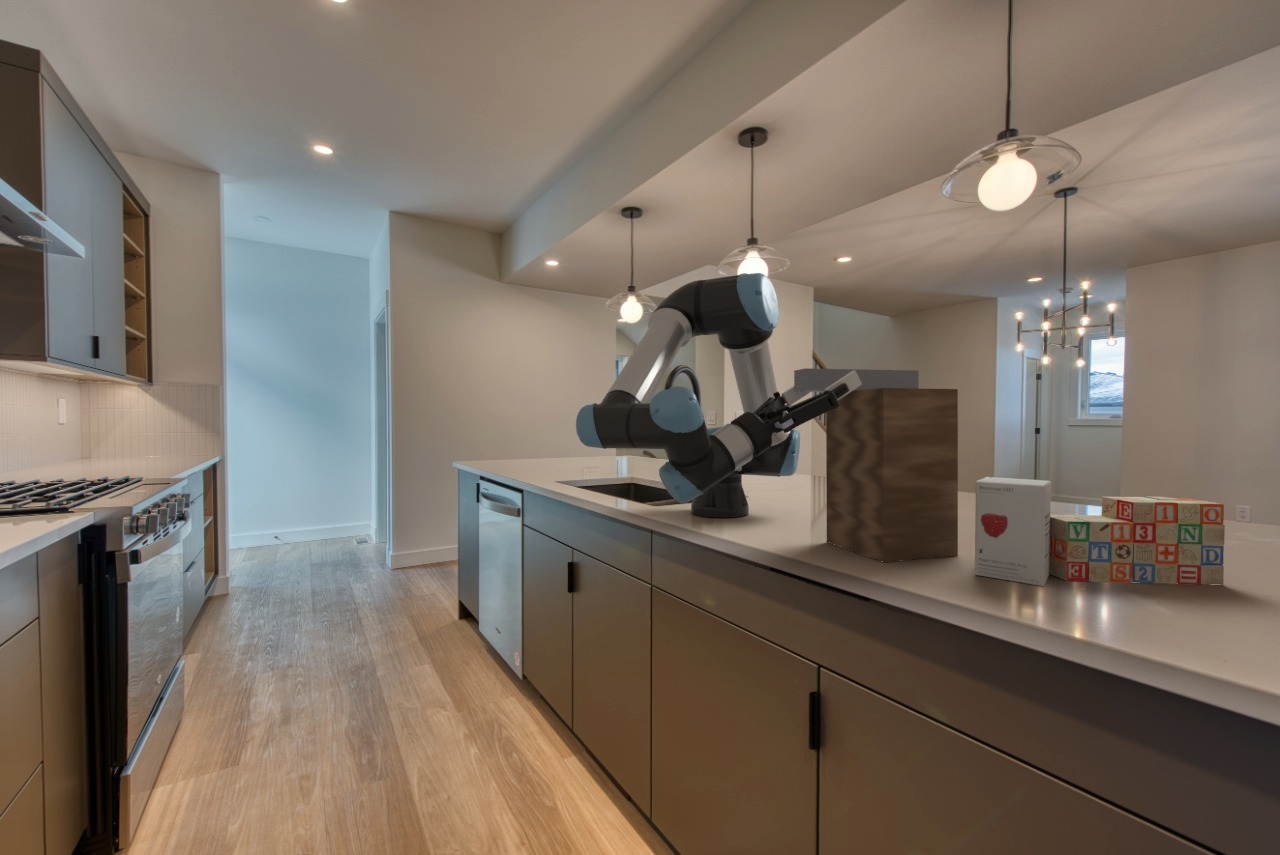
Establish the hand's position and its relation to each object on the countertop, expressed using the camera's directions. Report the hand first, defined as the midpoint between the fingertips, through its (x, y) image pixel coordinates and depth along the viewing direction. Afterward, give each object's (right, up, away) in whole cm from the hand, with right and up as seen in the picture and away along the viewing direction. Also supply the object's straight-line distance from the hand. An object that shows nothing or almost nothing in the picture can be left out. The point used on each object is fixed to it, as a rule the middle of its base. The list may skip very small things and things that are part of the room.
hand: (832, 380), depth 97 cm
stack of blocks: (+40, -32, -15) cm, 53 cm away
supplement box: (+23, -32, -13) cm, 42 cm away
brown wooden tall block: (+12, -32, +4) cm, 34 cm away
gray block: (+6, -2, +4) cm, 8 cm away
